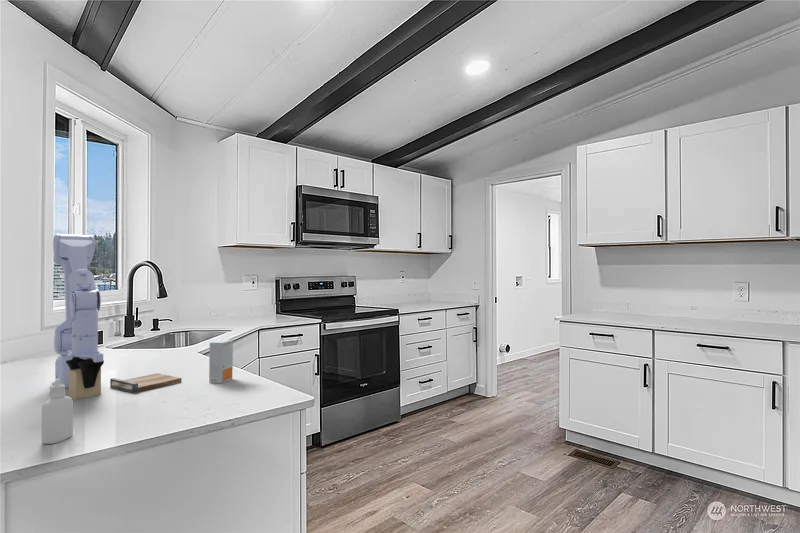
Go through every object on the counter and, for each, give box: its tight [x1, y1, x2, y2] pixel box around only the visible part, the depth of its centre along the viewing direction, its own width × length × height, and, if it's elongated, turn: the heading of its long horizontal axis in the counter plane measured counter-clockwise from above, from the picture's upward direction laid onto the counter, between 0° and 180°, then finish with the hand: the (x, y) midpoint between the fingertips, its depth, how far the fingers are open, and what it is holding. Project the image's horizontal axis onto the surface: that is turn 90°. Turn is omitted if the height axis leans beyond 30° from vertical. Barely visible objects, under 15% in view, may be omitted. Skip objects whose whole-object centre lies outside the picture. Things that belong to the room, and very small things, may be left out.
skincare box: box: [208, 339, 234, 384], centre depth 139 cm, size 6×4×12 cm
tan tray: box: [109, 373, 182, 394], centre depth 134 cm, size 12×14×2 cm
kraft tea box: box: [68, 367, 102, 400], centre depth 123 cm, size 4×6×7 cm, turn 149°
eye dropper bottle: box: [41, 379, 74, 445], centre depth 92 cm, size 4×6×12 cm
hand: (84, 386), depth 123 cm, fingers closed on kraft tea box, 4 cm apart
